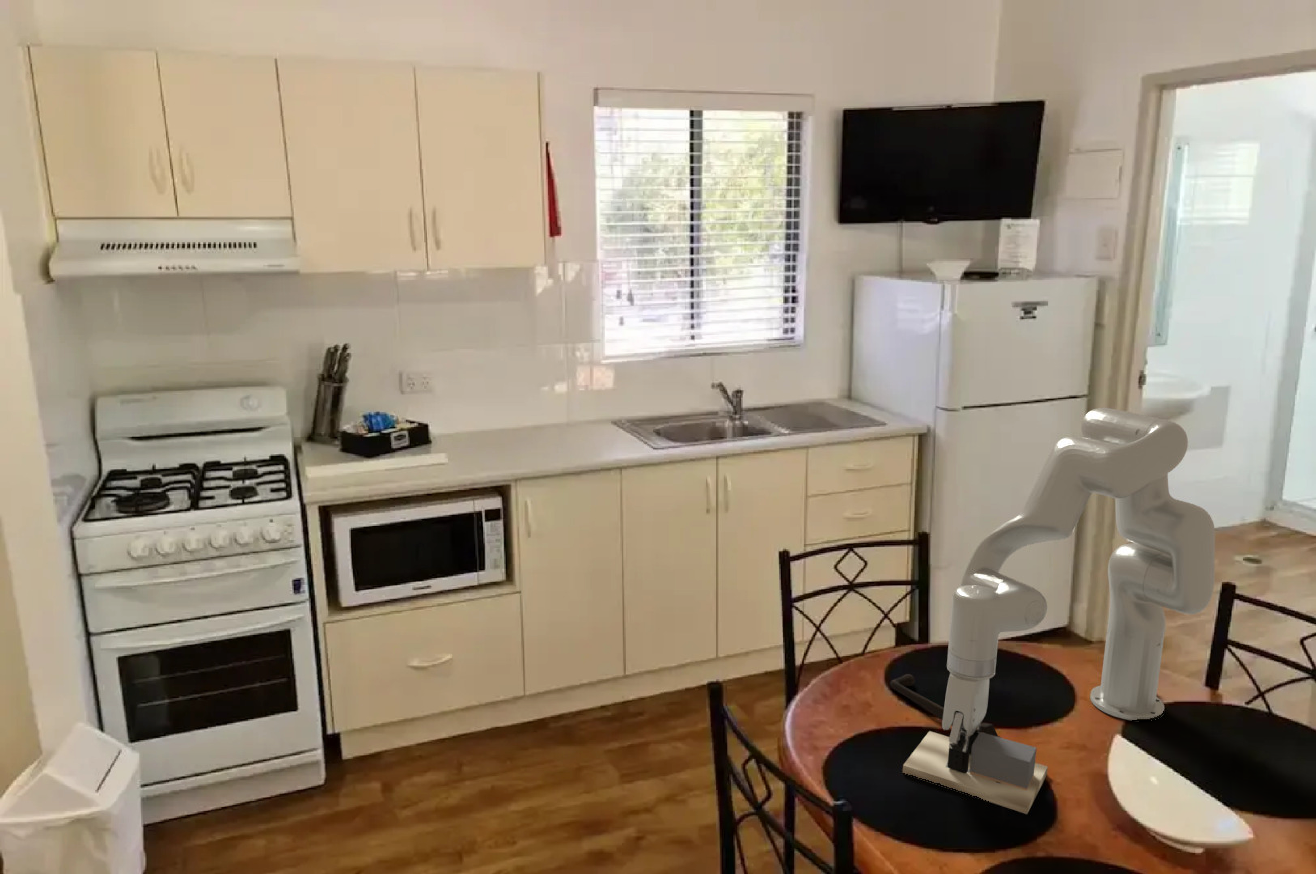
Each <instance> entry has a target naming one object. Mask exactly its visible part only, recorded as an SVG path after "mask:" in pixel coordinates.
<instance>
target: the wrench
mask: <svg viewBox="0 0 1316 874" xmlns="http://www.w3.org/2000/svg"><path fill="white" fill-rule="evenodd" d="M889 684H890V687H891V688H892V689H893V690H894V691H896V692H898V693H899V694H900V695H903V696H904V697H905V698H908V699H909V700H911V701H912V702H914V703H916V704H917V705H918V706H921V707H922V709H925V710H926V711H928V712H929V713H931V714H933V715H934V716H936V717H937V718H939V719H940V720H941V721H943V713H944V707H943V706H941V705H939V704H938V703H936V702H933V701H932V700H930V699H928V698H927V697H925V696H922V695H920V694H919V693H917V692H915V691H913V690H911V689H909V688H907V687H912V686H913V685H914V684H915V677H914V675H912V674H910V673H908V674H907V673H905V674H904V675H902V676H900V677H897V678H894V679H892V680H891V681H890V683H889ZM952 725H953V724H952ZM952 725H951V726H952ZM962 729H965V728H962ZM980 732H982V733H986V734H989V735H993V736H996V737H1000V738H1002V737H1001V736H999V735H998V733H997V731H996V729H995V727H994V724H993V723H987V722H983V721H981V730H980ZM980 732H977V733H980Z"/></svg>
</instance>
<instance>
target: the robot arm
mask: <svg viewBox="0 0 1316 874" xmlns="http://www.w3.org/2000/svg"><path fill="white" fill-rule="evenodd" d="M1081 434H1082V436H1077V435H1076V436H1073V435H1072V436H1071V435H1070V436H1066V437H1062V438H1061V439H1059V440H1058V441H1056V442H1055V444H1054V445H1053V447H1052V448H1051V451H1050V453H1049V455H1048V457H1047V458H1046V461H1045V463H1044V464H1043V467H1042V469H1041V471H1040V473H1039V476H1038V477H1037V479H1036V482H1035V484H1034V485H1033V488H1032V490H1031V491H1030V494H1029V495H1028V497H1027V500H1026V502H1025V504H1024V506H1023V508H1022V510H1021V511H1020V513H1019V514H1017V515H1016V516H1015V517H1013V518H1011V519H1010V520H1007V521H1006V522H1004V523H1002V524H1000V525H999V526H998V527H997V528H996V529H994V530H993V531H992V532H991V533H989V534H988V535H987V536H986V537H985V538H983V540H981V541H980V543H979V544H978V545H977V546H976V548H975V550H974V552H973V554H972V556H971V558H970V559H969V562H968V564H967V566H966V568H965V570H964V572H963V575H962V579H961V582H960V585H959V587H957V588H956V589H954V591H953V594H952V597H951V607H950V608H951V609H950V621H949V633H948V648H947V658H946V659H947V661H946V668H947V671H949V675H948V676H949V677H948V680H947V686H946V691H945V698H944V699H945V700H944V705H943V706H944V707H943V708H944V713H943V720H941V721H942V722H941V728H942V729H943V731H949V730H951V731H950V734H949V736H948V737H949V742H950V743H949V755H948V768H950V769H953V770H956V771H959V772H962V773H967V772H968V765H969V754H971V750H972V745H973V743H974V741H975V740H976V738H977V736H978V734H979V733H977V732H980V730H981V722H983V720H984V718H985V717H986V714H987V709H988V704H989V703H988V702H989V691H990V690H989V689H990V679H992V678H993V677H994V676H995V675H996V666H997V658H998V657H997V655H998V654H997V653H998V645H999V644H998V643H999V634H1000V633H1006V632H1007V633H1008V632H1023V631H1028V630H1029V631H1030V630H1031V629H1034V628H1036V627H1037V626H1039V625H1040V624H1041V623H1042V622H1043V621H1044V618H1045V617H1046V614H1047V611H1048V602H1047V600H1046V598H1045V596H1044V594H1043V593H1042V592H1041V591H1040V590H1038V589H1037V588H1035V587H1034V586H1031V585H1029V584H1026V583H1023V582H1022V581H1019V580H1016V579H1014V578H1011V577H1010V576H1007V575H1005V574H1001V573H1000V570H1001V568H1002V567H1003V565H1004V563H1005V562H1006V561H1007V559H1008V558H1009V557H1010V556H1011V555H1012V554H1013V553H1015V552H1016V551H1019V550H1020V549H1022V548H1025V547H1027V546H1031V545H1034V544H1041V543H1046V542H1052V541H1053V542H1054V541H1061V540H1066V539H1068V538H1070V537H1071V535H1072V534H1073V533H1074V531H1075V528H1076V527H1077V524H1078V523H1079V520H1080V518H1081V516H1082V514H1083V512H1084V510H1085V508H1086V506H1087V504H1088V502H1089V500H1090V498H1091V495H1092V494H1094V493H1095V494H1098V495H1102V496H1105V497H1109V498H1112V499H1114V500H1115V501H1114V506H1115V509H1114V510H1115V523H1116V524H1115V525H1116V529H1117V532H1118V533H1119V535H1120V536H1121V537H1122V538H1123V539H1125V540H1127V541H1128V543H1124V544H1121V545H1119V546H1118V547H1117V548H1116V549H1114V551H1112V553H1111V555H1110V557H1109V560H1108V565H1107V578H1108V586H1109V609H1108V620H1107V628H1106V637H1105V645H1104V653H1103V654H1104V655H1103V662H1102V670H1101V671H1102V672H1101V681H1100V685H1097V686H1095V687H1093V688H1092V690H1091V691H1090V697H1089V698H1090V701H1091V703H1092V704H1093V706H1094V707H1096V708H1097V709H1098V710H1100V711H1102V712H1103V713H1105V714H1107V715H1110V716H1113V717H1115V718H1118V719H1121V720H1127V721H1132V720H1137V719H1150V718H1154V717H1157V716H1159V715H1161V714H1162V713H1163V711H1164V712H1165V705H1164V703H1163V701H1162V700H1161V699H1160V698H1159V697H1158V696H1157V694H1158V693H1157V692H1158V687H1159V686H1158V685H1159V679H1160V678H1159V677H1160V671H1161V665H1162V655H1163V647H1164V640H1165V635H1166V626H1167V625H1166V615H1165V612H1164V610H1163V607H1164V608H1166V609H1169V610H1172V611H1174V612H1177V613H1181V614H1185V615H1197V614H1199V613H1201V612H1203V611H1204V610H1205V609H1206V608H1207V607H1208V606H1209V604H1210V602H1211V600H1212V597H1213V594H1214V588H1215V578H1216V576H1215V574H1216V573H1215V571H1216V570H1215V568H1216V566H1215V565H1216V557H1215V556H1216V530H1215V523H1214V521H1213V519H1212V516H1211V515H1210V514H1209V513H1208V511H1207V510H1206V509H1204V508H1203V507H1201V506H1200V505H1199V506H1198V505H1196V504H1195V503H1190V502H1187V501H1185V500H1184V501H1183V500H1180V499H1177V498H1174V497H1173V496H1172V495H1171V494H1170V491H1169V489H1170V488H1169V476H1168V475H1169V473H1170V472H1171V471H1174V469H1176V468H1177V466H1178V465H1180V463H1181V462H1182V460H1184V457H1185V455H1186V453H1187V450H1188V446H1189V445H1188V444H1189V440H1188V436H1187V432H1186V430H1184V428H1183V427H1182V426H1181V425H1180V424H1178V423H1176V422H1174V421H1171V420H1169V419H1164V418H1157V417H1153V416H1149V415H1144V414H1139V413H1136V412H1130V411H1126V410H1120V409H1115V408H1110V407H1098V408H1094V409H1091V410H1089V411H1087V412H1086V413H1085V415H1084V416H1083V418H1082V422H1081ZM952 724H953V725H952ZM962 728H965V729H962Z"/></svg>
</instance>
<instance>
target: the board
mask: <svg viewBox="0 0 1316 874" xmlns="http://www.w3.org/2000/svg"><path fill="white" fill-rule="evenodd" d="M949 737H950V736H947V735H944V734H941V733H937V732H934V731H931V730H929V731H928V732H927V734H926V735H925V736H924V737H923V738H922V740H921V742H920V743H919V744H918V745H917V746H916V748H915V749H914V750H913V752H911V754H910V756H909V757H908V758H907V759H906V761H905V762H904V763H903V765H902V774H903V773H905V774H904V775H906V774H908V775H907V776H909V775H913V776H916V777H918V778H917V779H919V778H922V779H926V780H929V781H932V782H934V783H940V784H941V785H944V786H947V787H949V788H953V789H956V790H958V791H962V792H965V793H968V794H970V795H972V796H971V797H973V796H977V797H979V798H981V799H980V800H982V799H983V801H985V800H986V801H985V802H988V801H989V803H992V804H993V805H994V804H995V805H998V806H1001V807H1004V808H1007V809H1010V810H1014V811H1017V812H1018V813H1022V814H1025V815H1028V813H1029V811H1030V809H1031V807H1032V806H1033V804H1034V801H1035V799H1036V798H1037V796H1038V793H1039V791H1040V789H1041V788H1042V786H1043V784H1044V781H1045V779H1046V778H1047V776H1048V768H1049V767H1048V766H1047V765H1044V764H1040V763H1037V762H1035V767H1034V776H1033V778H1032V780H1031V782H1030V785H1029V787H1028V789H1027V790H1024V789H1021V788H1017V787H1014V786H1011V785H1007V784H1004V783H1001V782H997V781H994V780H991V779H987V778H984V777H981V776H978V775H974V774H971V773H970V762H971V754H969V765H968V772H967V773H962V772H959V771H956V770H953V769H950V768H948V755H949V743H950V742H949ZM922 779H921V780H922ZM934 783H933V784H934ZM949 788H948V789H949ZM958 791H957V792H958ZM970 795H969V796H970ZM979 798H978V799H979Z"/></svg>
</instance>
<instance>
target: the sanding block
mask: <svg viewBox="0 0 1316 874" xmlns="http://www.w3.org/2000/svg"><path fill="white" fill-rule="evenodd" d="M1000 737H1001V736H999V737H996V736H993V735H989V734H986V733H982V732H980V733H979V734H978V736H977V738H976V740H975V741H974V743H973V745H972V750H971V762H970V773H971V774H974V775H978V776H981V777H984V778H987V779H991V780H994V781H997V782H1001V783H1004V784H1007V785H1011V786H1014V787H1017V788H1021V789H1024V790H1027V789H1028V787H1029V785H1030V782H1031V780H1032V778H1033V776H1034V767H1035V763H1036V756H1037V747H1035V746H1032V745H1029V744H1025V743H1021V742H1017V741H1013V740H1010V739H1006V738H1004V737H1001V738H1000Z"/></svg>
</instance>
